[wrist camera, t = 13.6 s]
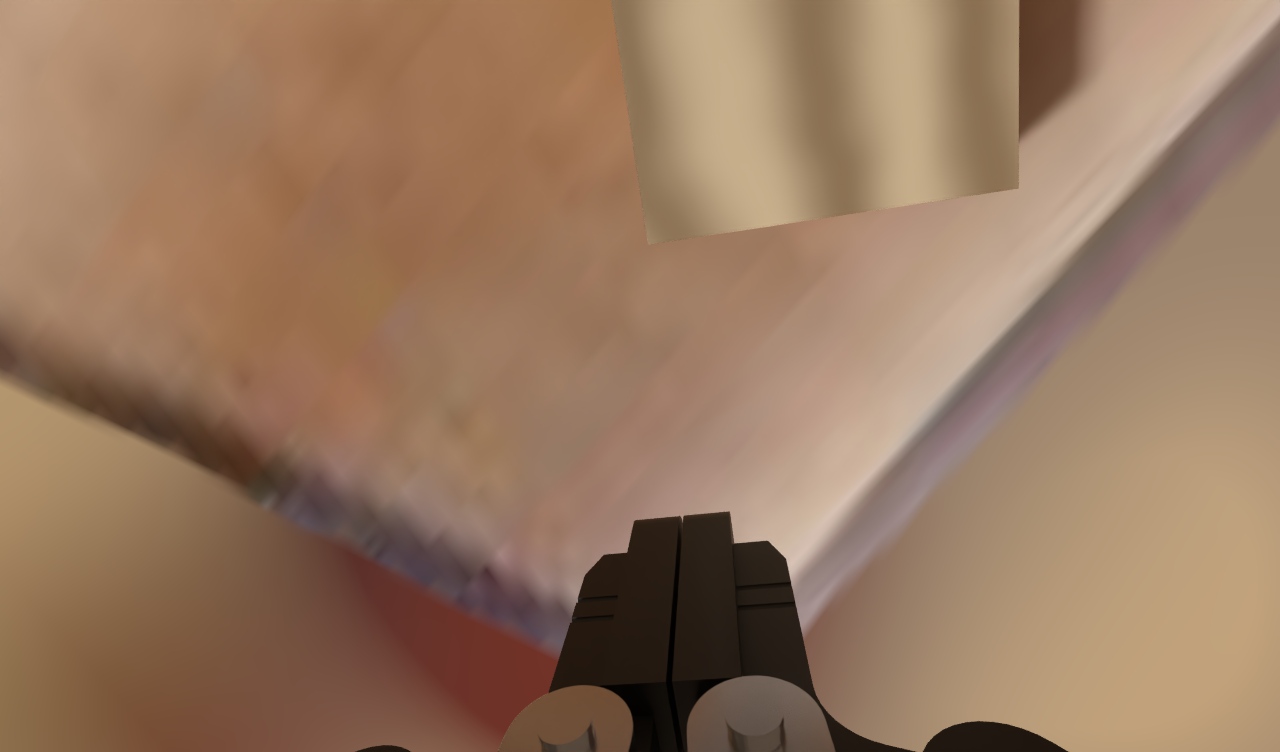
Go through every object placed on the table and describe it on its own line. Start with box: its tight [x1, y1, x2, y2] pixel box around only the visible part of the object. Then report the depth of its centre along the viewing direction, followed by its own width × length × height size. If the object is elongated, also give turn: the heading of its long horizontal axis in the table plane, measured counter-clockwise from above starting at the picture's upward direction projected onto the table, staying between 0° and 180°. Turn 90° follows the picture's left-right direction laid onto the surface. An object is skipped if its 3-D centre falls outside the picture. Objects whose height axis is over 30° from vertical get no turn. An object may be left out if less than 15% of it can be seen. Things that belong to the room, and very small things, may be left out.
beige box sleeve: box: [611, 0, 1019, 245], centre depth 30 cm, size 16×11×6 cm
